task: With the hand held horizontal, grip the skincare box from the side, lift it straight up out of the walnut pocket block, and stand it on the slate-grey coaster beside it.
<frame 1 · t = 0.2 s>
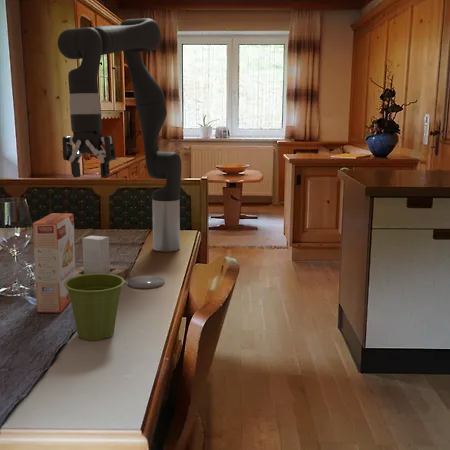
hand: (90, 177, 134), 29 cm above the table, tool pointing down, fingers open, 8 cm apart
plant pot: (96, 335, 108), on the table
slate coaster: (146, 283, 142), on the table
skincare box: (97, 280, 145), resting in pocket block
pocket block: (97, 279, 145), on the table
cracker box: (58, 304, 126), on the table
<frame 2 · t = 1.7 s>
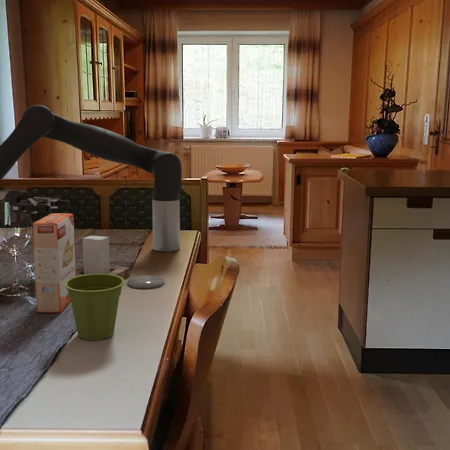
hand: (59, 206, 145), 20 cm above the table, tool horizontal, fingers open, 8 cm apart
nothing on the table moved.
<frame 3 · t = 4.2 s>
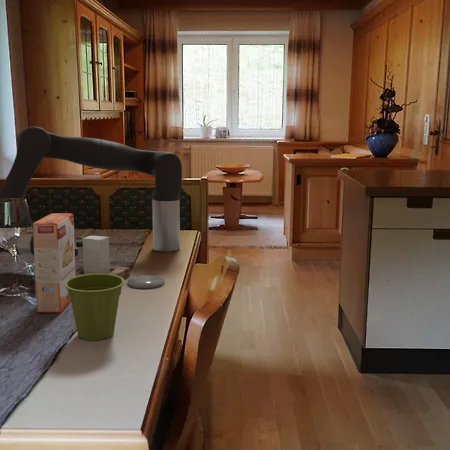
hand: (86, 248, 144), 8 cm above the table, tool horizontal, fingers open, 8 cm apart
nothing on the table moved.
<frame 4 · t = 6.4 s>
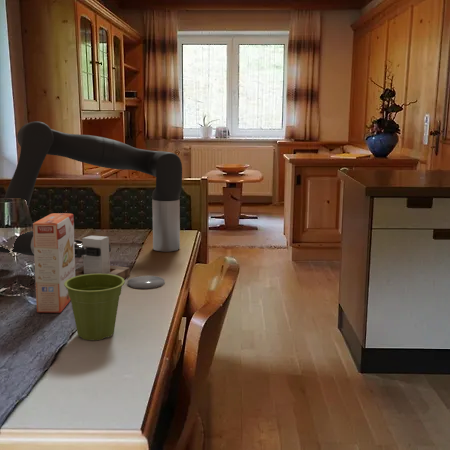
hand: (104, 250, 142), 9 cm above the table, tool horizontal, fingers closed on skincare box, 4 cm apart
skincare box: (97, 280, 145), resting in pocket block, touching gripper
everything else where it was.
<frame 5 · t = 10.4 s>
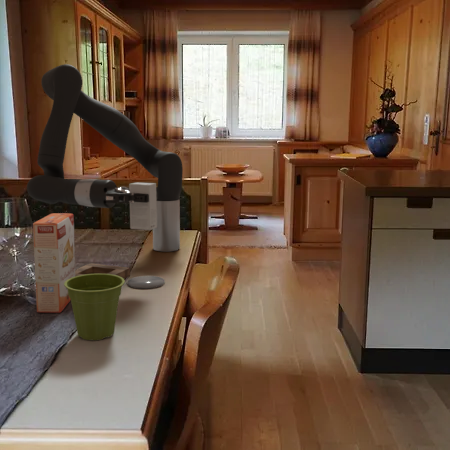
hand: (152, 197, 137), 24 cm above the table, tool horizontal, fingers closed on skincare box, 4 cm apart
skincare box: (143, 229, 140), point 15 cm above the table, touching gripper
everything else where it was.
when the fingers open (10 cm above the table, at t = 14.5 s): skincare box drops 1 cm, resting on slate coaster.
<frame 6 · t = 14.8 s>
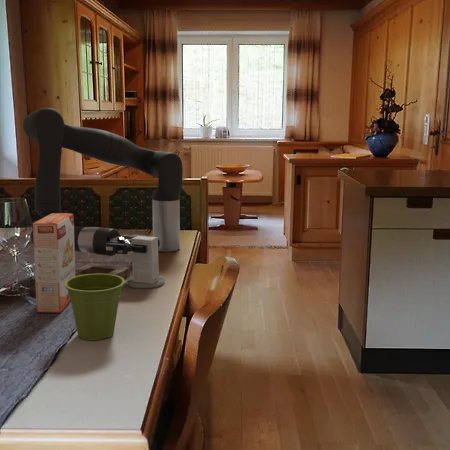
hand: (153, 246, 140), 11 cm above the table, tool horizontal, fingers open, 6 cm apart
skincare box: (145, 281, 142), resting on slate coaster
everything else where it was.
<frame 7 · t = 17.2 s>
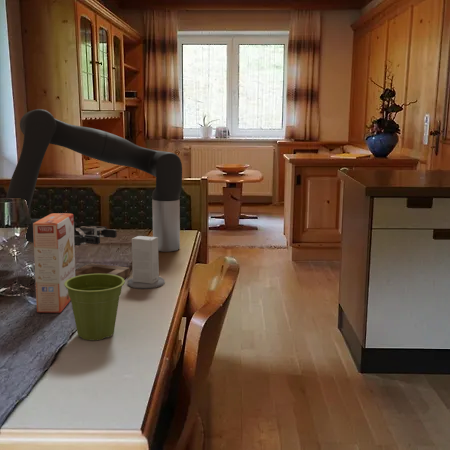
hand: (107, 236, 144), 12 cm above the table, tool horizontal, fingers open, 8 cm apart
nothing on the table moved.
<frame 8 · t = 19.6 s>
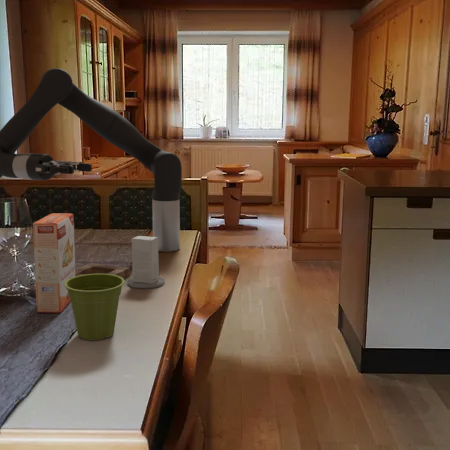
hand: (82, 168, 145), 30 cm above the table, tool horizontal, fingers open, 8 cm apart
nothing on the table moved.
at the end: skincare box inside the target area on the slate coaster (0.1 cm from its centre), point 0.4 cm above the slate coaster's base; skincare box tilted 0°; the gripper is holding nothing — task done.
